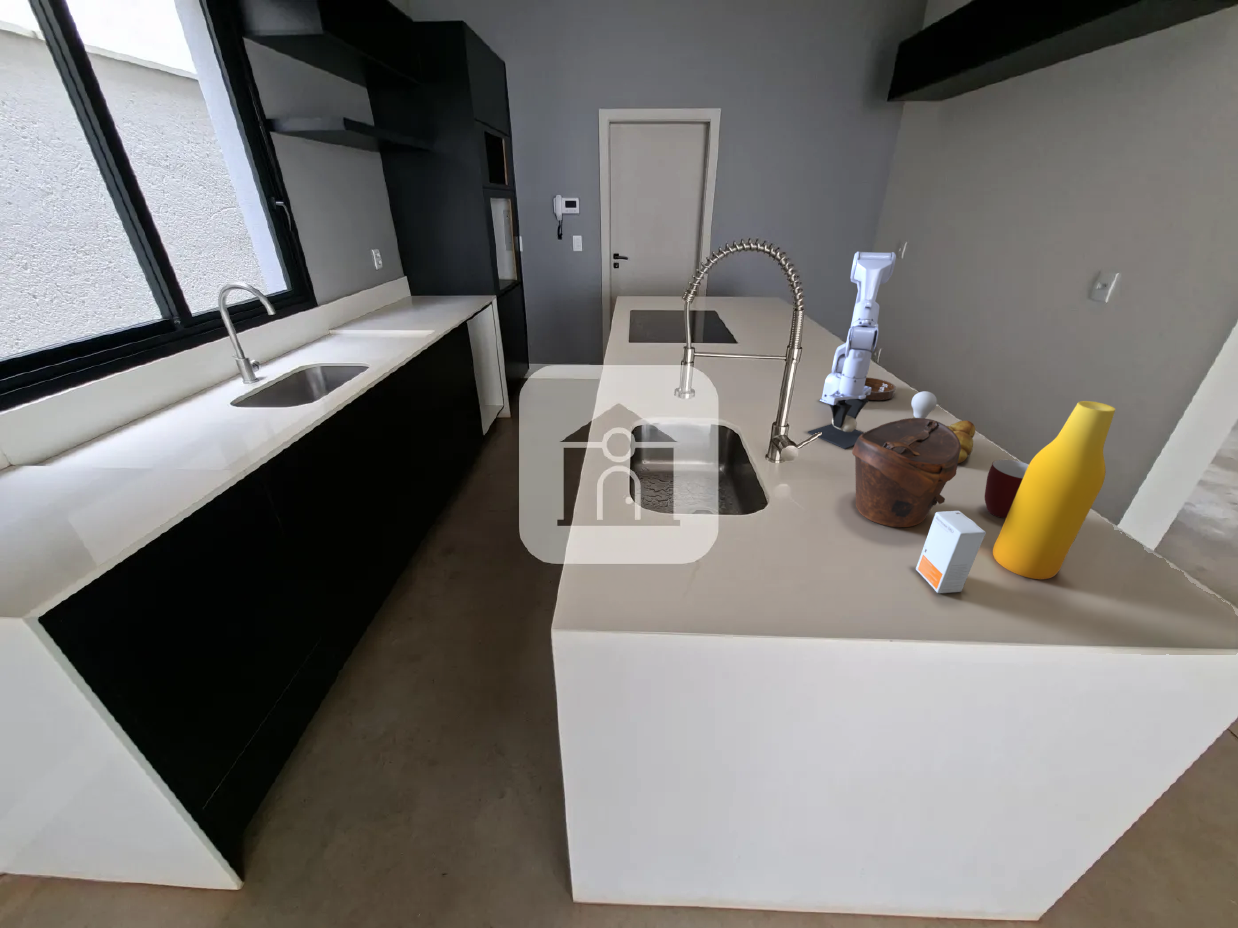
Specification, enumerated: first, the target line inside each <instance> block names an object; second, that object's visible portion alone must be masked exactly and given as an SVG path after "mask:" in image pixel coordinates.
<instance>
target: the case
mask: <svg viewBox="0 0 1238 928" xmlns="http://www.w3.org/2000/svg"><path fill="white" fill-rule="evenodd" d="M947 426H948V425H945V424H944V423H942V422H940V421H937V420H934V419H931V418H914V417H910V418H909V417H908V418H902V419H898V420H894V421H890V422H886V423H883V424H881V425H878V426H876V427H874V428H871V429H869V430H867V431H865V432H863V434H861V435H860V436H859V437H858V439H857V441H856V443H855V445H854V446H853V447H852V452H851V454H852V455H853V456H854V457H855V463H854V464H855V465H854V467H855V468H854V469H855V470H854V471H855V473H854V475H855V506H856V509H857V511H858V513H860V515H862V517H864V518H866V519H867V520H868V521H871V522H874V523H875V524H878V525H883V526H887V527H892V528H910V527H914V526H917V525H919V524H921V523H923V522H924V521H925V519H926V518H927V516H928V514H929V513H930V511H931V509H932V508H933V507H934V506H936V505H937V504H939V505H940V504H944V503H945V500H946V499H945V497H944V496H943V495H942V494H941V493H942V491H943V489H944V487H946V484H947V483H948V482H949V481H951V480H952V479H954V478H955V476H956V475H957V469H958V464H959V463H958V459H959V454H960V451H961V444H960V441H959V439H958V437H957V436H956V434H955V433H954V432H953V431H952V430H951V429H950V428H948V427H947Z"/></svg>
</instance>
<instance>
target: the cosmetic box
mask: <svg viewBox="0 0 1238 928" xmlns="http://www.w3.org/2000/svg"><path fill="white" fill-rule="evenodd" d="M986 534H987V533H986V530H984V529H983V528H981V527H980V526H979V525H978V524H977V523H976V522H975V521H974V520H972V519H971V518H969V517H968V516H967V515H965V514H964V513H963V512H962V511H960V510H950V511H949V510H948V511H946V510H945V511H936V512H935V513H934V516H933V518H932V522H931V525H930V528H929V530H928V534H927V536H926V539H925V542H924V543H923V544H924V545H923V546H922V550H921V553H920V556H919V558H918V561H917V564H916V567H915V570H916V571H917V573H919V574H920V576H921V577H922V578H923V580H925V581H926V582H927V583H928V584H929V585H930V587H931V588H932V589H933V590H934V591H935V592H936V593H937V594H947V593H960V592H962V591H963V589H964V587H965V585H966V582H967V579H968V578H969V577H968V576H969V574H970V572H971V569H972V567H973V566H974V562H975V561H976V558H977V555H978V553H979V550H980V547H981V545H982V543H983V542H984V541H983V540H984V539H985V536H986Z"/></svg>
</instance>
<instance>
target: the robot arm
mask: <svg viewBox="0 0 1238 928" xmlns="http://www.w3.org/2000/svg"><path fill="white" fill-rule="evenodd" d="M896 260H897V254H896V253H895V252H894V251H892V252H873V251H872V252H869V251H868V252H867V251H856V252H855V253H854V256H853V260H852V266H851V271H850V277H849V278H850V282H851V283H854V284H856V287H857V294H856V300H855V303H854V307H853V313H852V319H851V324H850V328H849V329H848V333H847V337H846V342H844V343H843V344H841V345H839V346H837V348H836V349H835V352H834V356H833V361H832V367H831V372H830V373H829V374H828V375H827V376H826V378H825V380H824V384H823V390H822V395H821V398H819V401H820V402H822V403H825V404H827V405H829V407H830V410H831V414H832V418H833V425H834V426H836V427H838V428H842V426H843V423H844V420H845V417H846V415H848V416H851V417H853V418H854V419H855V420H856V421H857V418H858V416H859V414H860V412H861V411H862V409H863V408H864V407H865V405H867V404H868V403H869V400H868V398H866V395H870V393H871V389H872V388H871V387H868V386H864V385H865V381H866V377H867V376H868V373H869V370H870V365H871V358H872V355H873V352H875V349H876V347H877V343H878V339H879V323H878V322H879V314H880V304H879V303H878V302H877V301H876V300H877V296H878V293H879V289H880V285H883V284H887V282H888V281H890V278H891V277H892V276H893V272H894V269H895V265H896Z"/></svg>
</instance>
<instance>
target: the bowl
mask: <svg viewBox="0 0 1238 928" xmlns="http://www.w3.org/2000/svg"><path fill="white" fill-rule="evenodd" d="M864 386H868V387H871V388H872V389H871V393H870V395H866V398H868V401H885V400H890V399H892V398H893V397H895V393H896V390H897V386H896V385H895V384H894V383H892V382H890V381H887V380H884V379H880V378H875V377H867V376H866V381H865V385H864Z"/></svg>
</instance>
